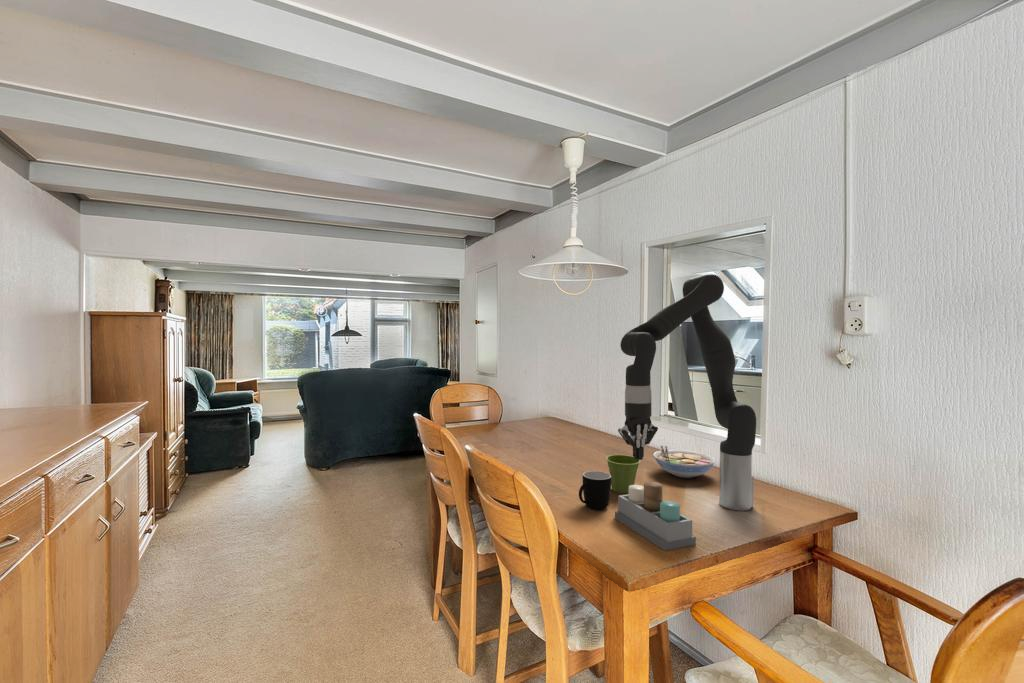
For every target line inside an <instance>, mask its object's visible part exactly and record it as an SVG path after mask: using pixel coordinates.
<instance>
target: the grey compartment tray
mask: <svg viewBox="0 0 1024 683" xmlns="http://www.w3.org/2000/svg"><path fill="white" fill-rule="evenodd" d="M617 500H618V501H617V502H618V505H617V508H618V510H614V518H615V520H617V521H619V522H620V523H622V524H624V525H625V526H626V527H628V528H630V529H631V530H632V531H634V532H636V533H637V534H639V535H640V536H642V538H645V539H646V540H648V541H649V542H651V543H652V544H653V545H655V546H657V547H658V548H659V549H661V550H663V551H664V552H665V551H671V550H675V549H680V548H684V547H690V546H695V545H697V544H696V541H697V538H696V536H695V535H693V519H691V518H689V517H688V516H685V515H683V514H682V513H680V521H676V522H670V523H668V522H666V521H665V520H663V519H661V518H660V511H658V512H653V511H648V510H646V509H644V502H642V503H636V504H635V503H633V502H631V501H630V500H629V494H627V493H626V494H620V495H618V496H617Z"/></svg>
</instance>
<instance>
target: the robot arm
mask: <svg viewBox="0 0 1024 683" xmlns="http://www.w3.org/2000/svg"><path fill="white" fill-rule="evenodd" d="M724 291H725V285H724V282H723V280H722V279H721V277H720V276H719V275H717V274H715V273H714V274H713V273H706V274H703V275H702V274H701V275H698V276H694V277H690V278H688V279H686V280H685V281H684V283H683V285H682V296H683V297H682V298H680V299H678V300H676V301H675V302H673V303H671V304H669V305H668V306H665V307H664V308H663V309H660V311H658V312H657V313H656V314H654V315H653V316H652V317H650V318H649V319H648V320H646V322H644V323H641V324H639V325H638V326H636V327H634V328H632V329H630V330H629V331H627V333H624V335H623V337H622V338H621V340H620V350H621V352H622V353H623V354H625V355H627V356H630V357H634V360H633V363H632V364H629V365H627V366H626V368H625V390H624V416H625V421H624V426H622V427H621V428H618V429H617V432H618V434H619V435H620V436H621V438H622V439H623V441H624V442H625V443H626V444H627V445H629V446H631V447H632V456H633V457H634V459H636V460H641V461H642V460H643V458H644V457H645V454H644V451H645V446H646V445H650V443H651V442H652V440H653V438H654V437H655V435H656V433H657V432H658V430H659V427H658V426H655V425H654V424H652V419H651V417H652V388H651V387H652V386H651V383H652V382H651V379H652V378H651V371H652V368H653V364H654V360H655V356H656V352H657V342H659V341H662V340H664V339H665V338H666V337H668V336H669V335H670V334H671V333H673V331H675V329H676V328H678V327H679V326H680V325H681V324H683V323H685V322H686V321H687V320H688V319H691V321H692V324H693V326H694V330H695V334H696V338H697V341H698V344H699V349H700V354H701V357H702V360H703V364H704V367H705V370H706V374H707V379H708V382H709V385H710V389H711V390H710V391H711V395H712V402H713V408H714V414H715V419H716V421H717V422H718V424H719V425H720V427H722V428H724V429H727V436H726V437H727V438H726V439H725V440H722V441H721V442H720V444H719V486H718V487H719V489H718V490H719V493H718V494H719V495H718V496H719V497H718V504H719V505H721V507H723V508H725V509H729V510H733V511H740V512H741V511H749V510H751V508H754V497H755V496H754V495H755V494H754V489H755V488H754V487H755V486H754V485H755V484H754V483H755V479H754V477H753V476H752V474H753V473H752V471H753V469H752V468H753V467H752V466H753V465H752V464H753V462H752V461H753V458H752V457H753V448H754V447H755V444H756V435H757V416H756V411H755V410H754V408H753V407H752V406H750V405H748V404H746V403H741V402H738V398H737V397H736V393H735V388H734V384H733V380H734V374H735V369H736V358H735V354H734V349H733V346H732V343H731V342H732V341H731V340H730V338H729V337H728V335H727V334H726V333H725V332H724V330H723V329H722V328H720V326H719V325H718V323H716V321H715V320H714V319H713V317H712V315H711V312H710V309H709V306H710V305H712V304H713V303H716V302H717V301H718V300H719V301H720V299H721V297H722V296H723V295H724Z"/></svg>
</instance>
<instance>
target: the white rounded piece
mask: <svg viewBox="0 0 1024 683" xmlns="http://www.w3.org/2000/svg"><path fill="white" fill-rule="evenodd" d="M629 500H630V501H631V502H633V503H635V504H636V503H642V502H644V485H640V484H634V485H630V486H629Z"/></svg>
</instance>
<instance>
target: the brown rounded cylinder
mask: <svg viewBox="0 0 1024 683" xmlns="http://www.w3.org/2000/svg"><path fill="white" fill-rule="evenodd" d="M643 486H644V509H646V510H648V511H653V512H658V511H660V502H662V501H663V488H664V487H663V485H662V484H661V483H659V482H652V481H647V482H644V483H643Z"/></svg>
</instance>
